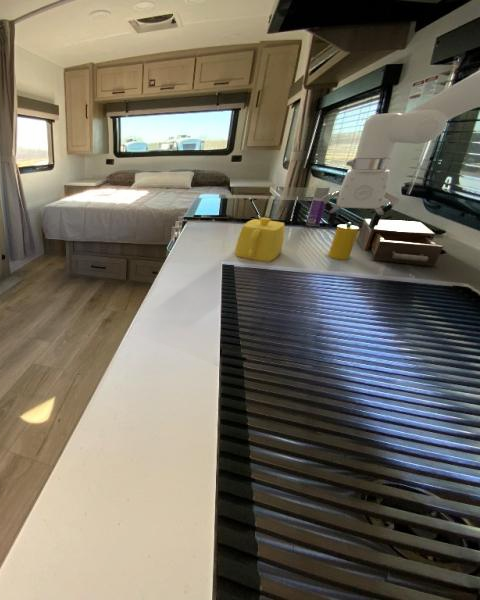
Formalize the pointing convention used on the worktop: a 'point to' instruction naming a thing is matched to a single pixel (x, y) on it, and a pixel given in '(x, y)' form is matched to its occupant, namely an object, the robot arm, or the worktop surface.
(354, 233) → the yellow cylinder
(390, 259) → the drawer
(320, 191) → the container
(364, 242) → the cabinet
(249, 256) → the teapot
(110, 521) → the worktop surface
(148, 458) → the worktop surface
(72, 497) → the worktop surface
